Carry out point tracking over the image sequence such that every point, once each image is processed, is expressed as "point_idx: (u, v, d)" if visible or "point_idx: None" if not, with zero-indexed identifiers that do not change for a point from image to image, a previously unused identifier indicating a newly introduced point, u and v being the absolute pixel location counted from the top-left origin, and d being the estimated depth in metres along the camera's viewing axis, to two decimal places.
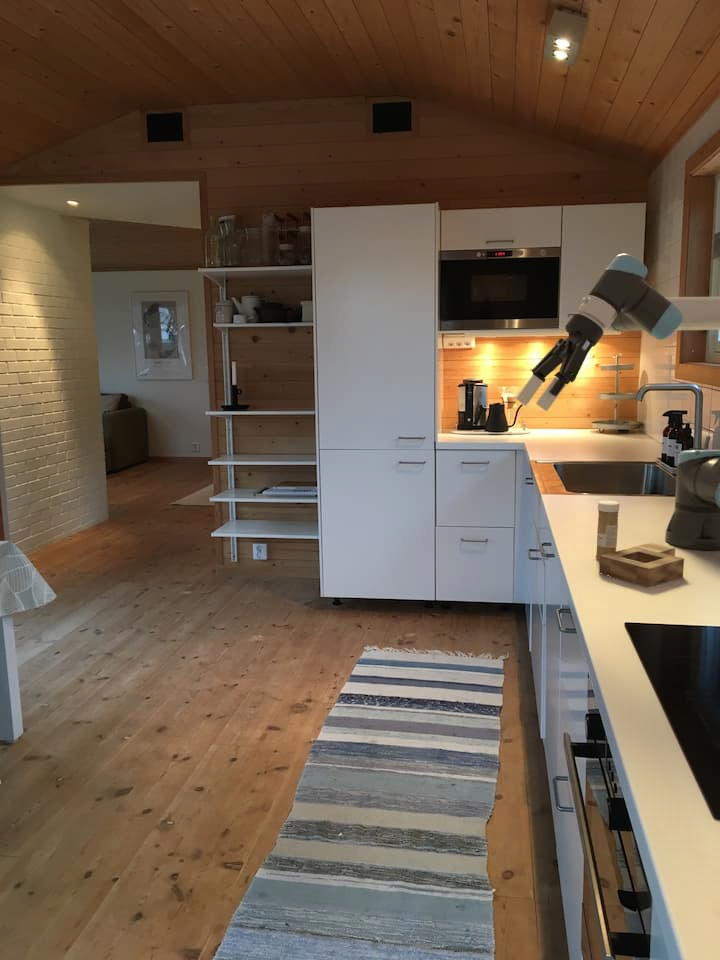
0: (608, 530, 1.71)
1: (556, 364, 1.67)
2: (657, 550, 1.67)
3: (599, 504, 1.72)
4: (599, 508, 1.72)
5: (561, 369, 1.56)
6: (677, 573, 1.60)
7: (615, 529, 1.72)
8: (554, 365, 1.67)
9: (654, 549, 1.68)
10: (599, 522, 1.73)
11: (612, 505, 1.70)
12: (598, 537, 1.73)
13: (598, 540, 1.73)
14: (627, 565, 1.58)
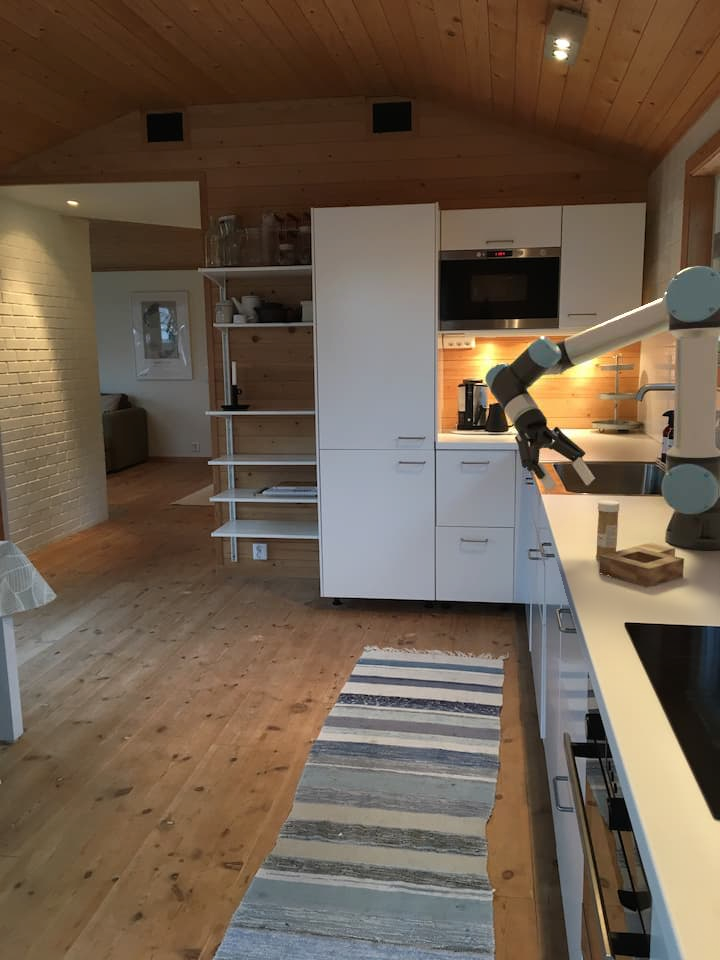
0: (608, 530, 1.71)
1: (560, 446, 1.87)
2: (657, 550, 1.67)
3: (599, 504, 1.72)
4: (599, 508, 1.72)
5: None
6: (677, 573, 1.60)
7: (615, 529, 1.72)
8: (561, 447, 1.87)
9: (654, 549, 1.68)
10: (599, 522, 1.73)
11: (612, 505, 1.70)
12: (598, 537, 1.73)
13: (598, 540, 1.73)
14: (627, 565, 1.58)
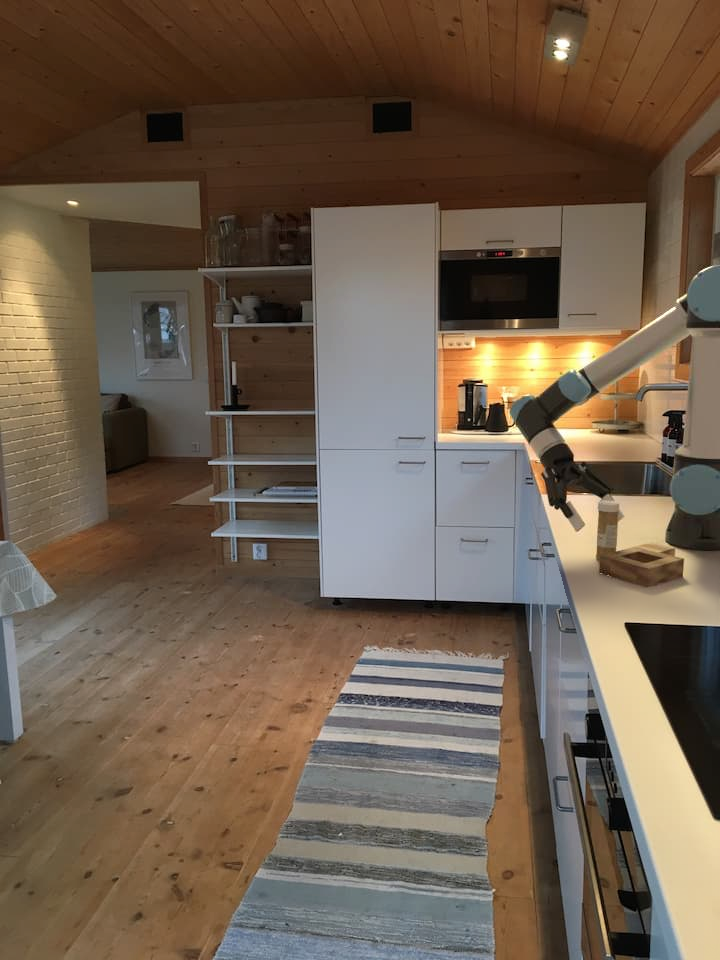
0: (608, 530, 1.71)
1: (588, 482, 1.81)
2: (657, 550, 1.67)
3: (599, 504, 1.72)
4: (599, 508, 1.72)
5: None
6: (677, 573, 1.60)
7: (615, 529, 1.72)
8: (589, 484, 1.81)
9: (654, 549, 1.68)
10: (599, 522, 1.73)
11: (612, 505, 1.70)
12: (598, 537, 1.73)
13: (598, 540, 1.73)
14: (627, 565, 1.58)
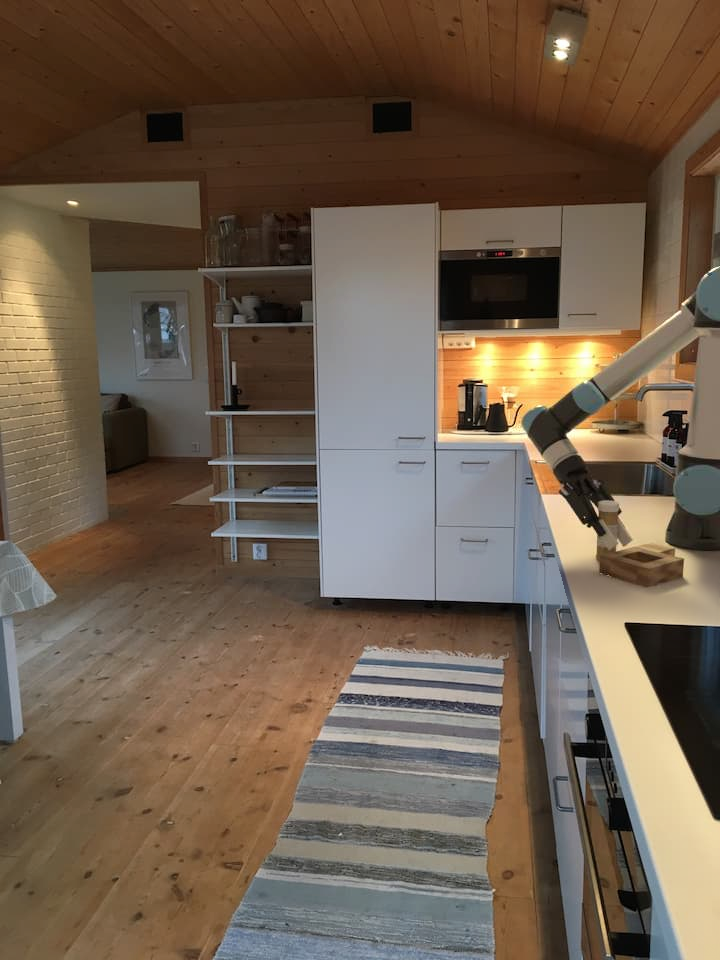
0: None
1: (598, 498, 1.77)
2: (657, 550, 1.67)
3: (599, 504, 1.72)
4: (599, 508, 1.72)
5: None
6: (677, 573, 1.60)
7: (615, 529, 1.72)
8: (599, 500, 1.77)
9: (654, 549, 1.68)
10: None
11: (612, 505, 1.70)
12: (598, 537, 1.73)
13: (598, 540, 1.73)
14: (627, 565, 1.58)
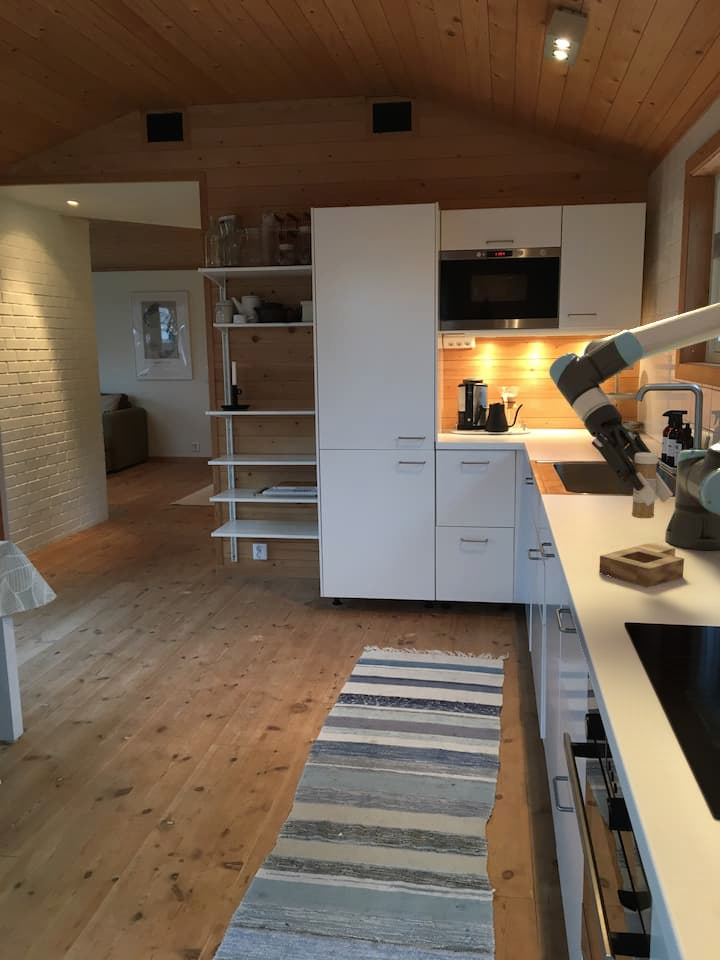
0: None
1: (634, 451, 1.63)
2: (657, 550, 1.67)
3: (636, 456, 1.58)
4: (636, 460, 1.58)
5: None
6: (677, 573, 1.60)
7: (653, 483, 1.57)
8: (635, 453, 1.62)
9: (654, 549, 1.68)
10: None
11: (651, 456, 1.56)
12: (635, 492, 1.59)
13: (635, 495, 1.59)
14: (627, 565, 1.58)
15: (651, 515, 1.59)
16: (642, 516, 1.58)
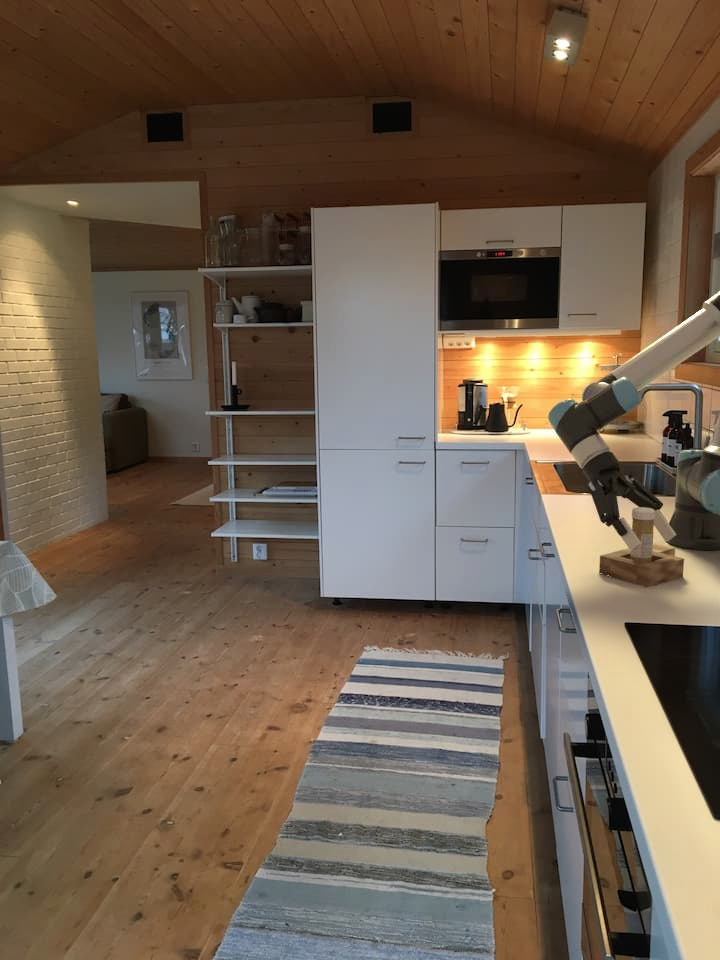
0: (644, 540, 1.59)
1: (635, 495, 1.66)
2: (657, 550, 1.67)
3: (633, 511, 1.60)
4: (633, 516, 1.60)
5: None
6: (677, 573, 1.60)
7: (651, 538, 1.59)
8: (637, 497, 1.66)
9: (654, 549, 1.68)
10: (633, 530, 1.60)
11: (648, 512, 1.58)
12: None
13: None
14: (627, 565, 1.58)
15: None
16: None
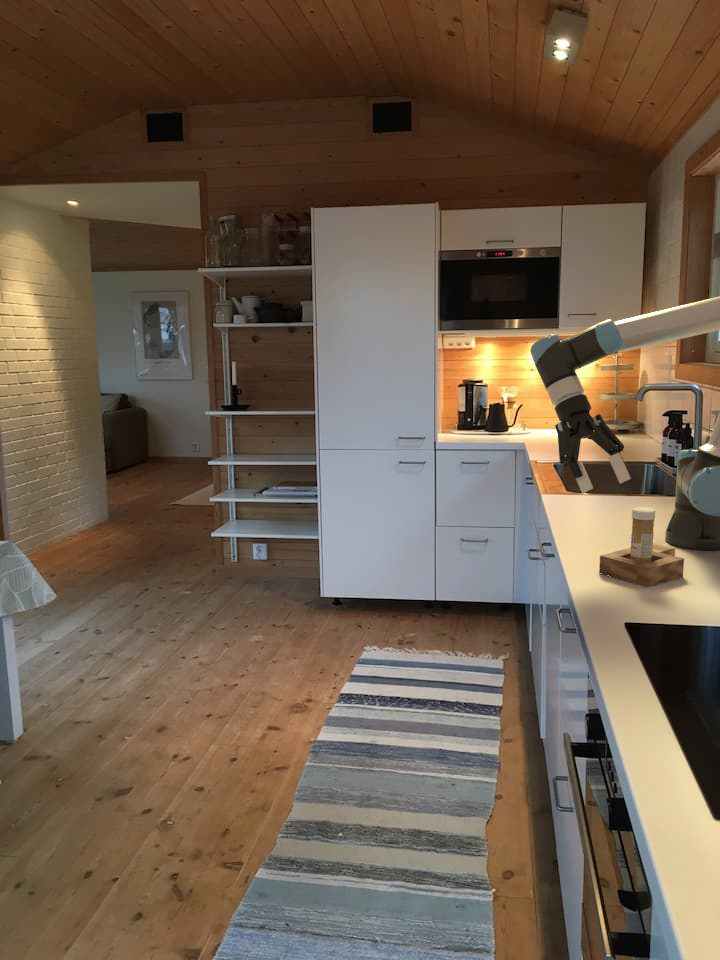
0: (644, 540, 1.59)
1: (600, 438, 1.74)
2: (657, 550, 1.67)
3: (633, 511, 1.60)
4: (633, 516, 1.60)
5: None
6: (677, 573, 1.60)
7: (651, 538, 1.59)
8: (601, 440, 1.74)
9: (654, 549, 1.68)
10: (633, 530, 1.60)
11: (648, 512, 1.58)
12: (632, 547, 1.61)
13: (632, 550, 1.61)
14: (627, 565, 1.58)
15: None
16: None
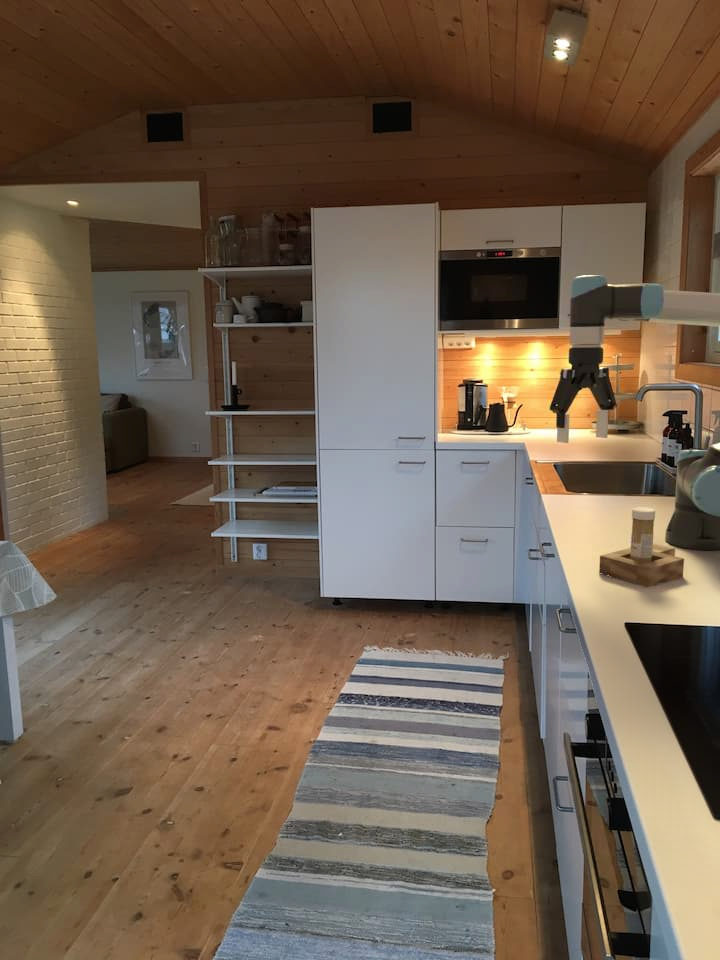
0: (644, 540, 1.59)
1: (597, 392, 1.76)
2: (657, 550, 1.67)
3: (633, 511, 1.60)
4: (633, 516, 1.60)
5: None
6: (677, 573, 1.60)
7: (651, 538, 1.59)
8: (598, 393, 1.76)
9: (654, 549, 1.68)
10: (633, 530, 1.60)
11: (648, 512, 1.58)
12: (632, 547, 1.61)
13: (632, 550, 1.61)
14: (627, 565, 1.58)
15: None
16: None
